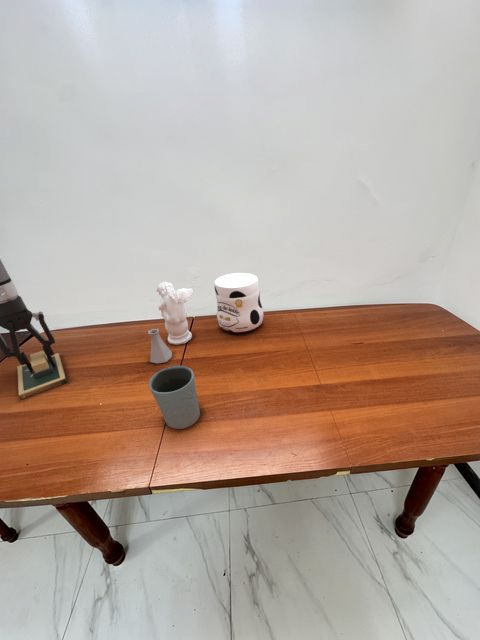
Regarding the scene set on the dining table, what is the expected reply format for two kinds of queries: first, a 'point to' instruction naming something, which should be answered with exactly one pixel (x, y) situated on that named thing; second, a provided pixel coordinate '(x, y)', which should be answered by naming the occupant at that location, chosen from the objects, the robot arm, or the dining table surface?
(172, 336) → the cherub figurine
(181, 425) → the grey cup
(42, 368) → the eraser
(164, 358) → the flask
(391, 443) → the dining table surface
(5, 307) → the robot arm
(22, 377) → the slate
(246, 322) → the milk container
